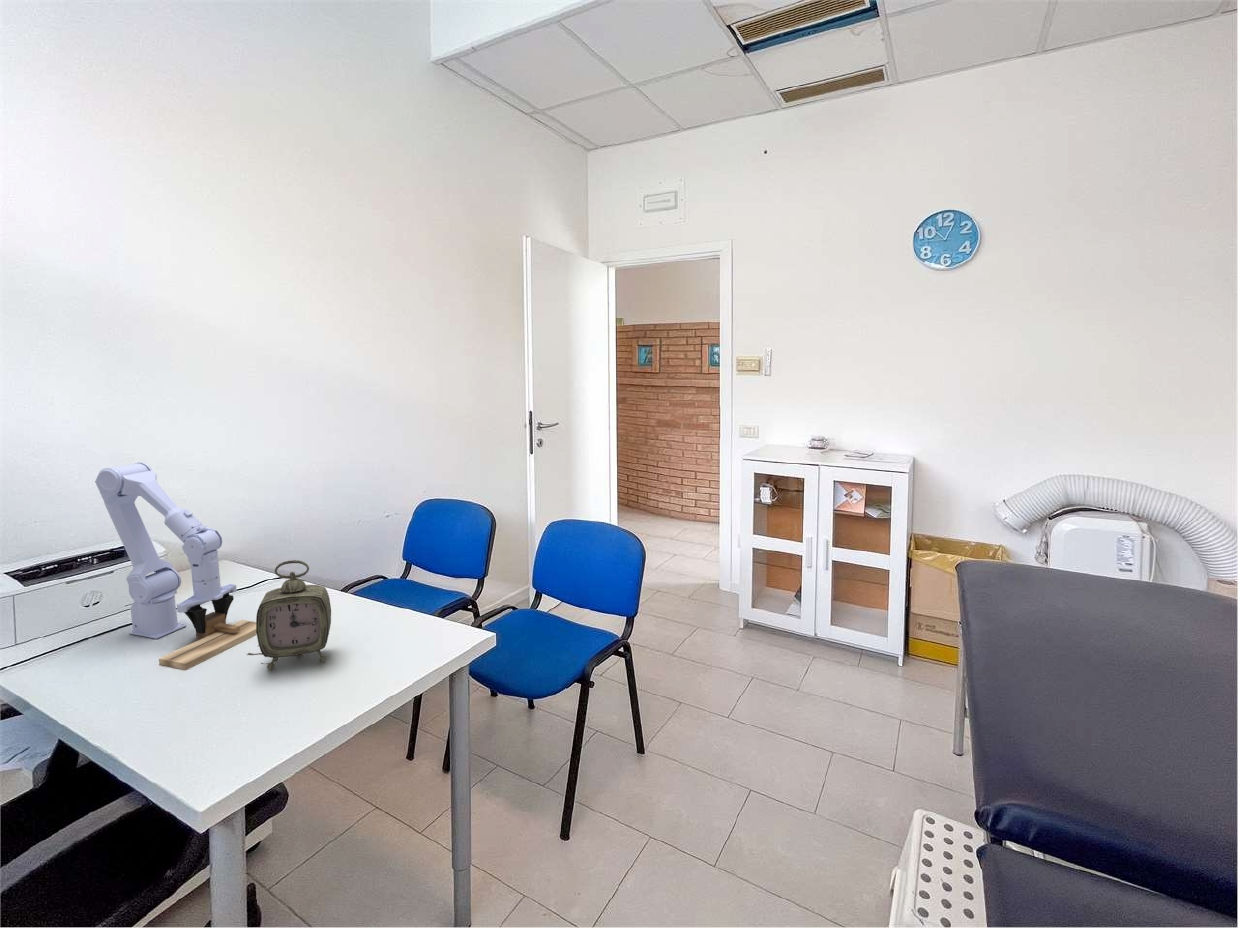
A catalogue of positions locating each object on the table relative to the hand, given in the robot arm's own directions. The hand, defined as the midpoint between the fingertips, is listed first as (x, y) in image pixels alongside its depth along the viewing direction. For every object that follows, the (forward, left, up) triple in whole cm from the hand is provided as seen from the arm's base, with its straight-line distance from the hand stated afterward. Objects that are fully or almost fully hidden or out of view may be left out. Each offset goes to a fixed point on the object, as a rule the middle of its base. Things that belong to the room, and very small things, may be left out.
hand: (211, 627), depth 149 cm
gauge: (+3, 0, -2) cm, 4 cm away
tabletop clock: (+31, -4, -2) cm, 32 cm away
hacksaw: (+20, +4, -3) cm, 21 cm away
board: (+6, -4, -2) cm, 8 cm away
